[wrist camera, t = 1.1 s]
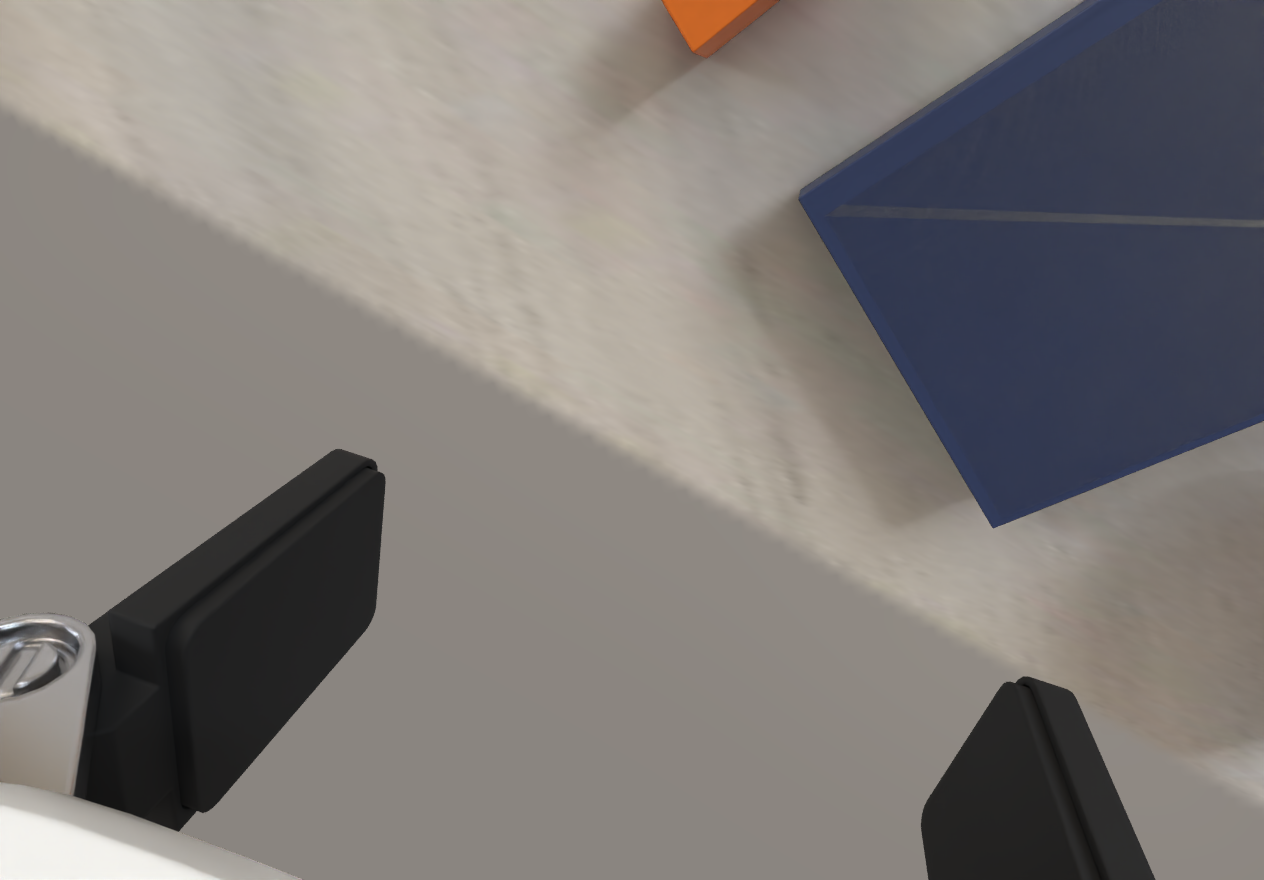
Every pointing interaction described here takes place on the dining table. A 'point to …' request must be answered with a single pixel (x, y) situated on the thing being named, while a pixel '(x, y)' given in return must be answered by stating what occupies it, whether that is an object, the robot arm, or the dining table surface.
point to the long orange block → (713, 20)
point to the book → (1072, 248)
